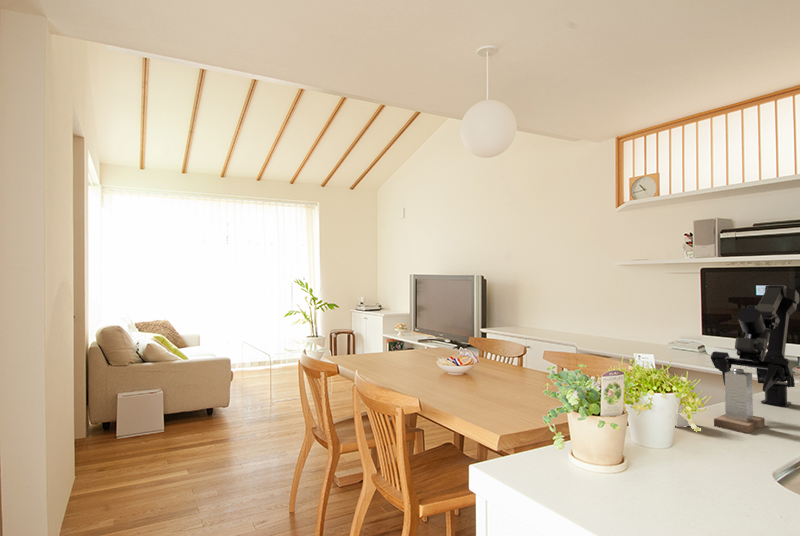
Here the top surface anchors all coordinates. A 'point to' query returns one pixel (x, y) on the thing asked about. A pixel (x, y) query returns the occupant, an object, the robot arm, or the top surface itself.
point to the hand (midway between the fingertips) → (743, 387)
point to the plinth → (739, 424)
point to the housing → (738, 395)
